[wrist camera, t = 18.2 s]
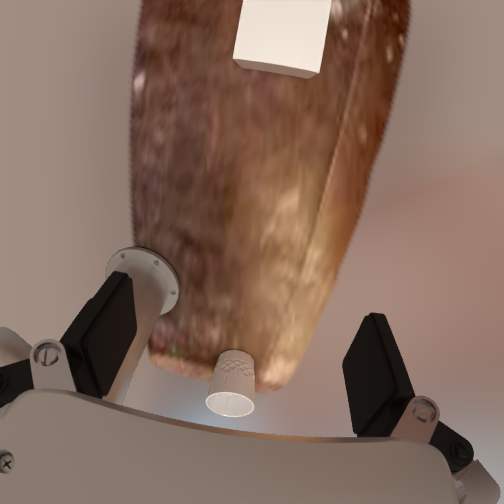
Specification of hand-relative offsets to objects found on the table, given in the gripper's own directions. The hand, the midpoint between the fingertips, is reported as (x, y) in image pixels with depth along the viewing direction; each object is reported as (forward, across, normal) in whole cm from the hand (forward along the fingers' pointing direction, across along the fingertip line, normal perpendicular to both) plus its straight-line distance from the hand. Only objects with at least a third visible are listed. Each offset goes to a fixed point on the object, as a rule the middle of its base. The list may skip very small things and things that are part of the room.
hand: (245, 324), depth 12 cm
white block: (+28, +1, -17) cm, 33 cm away
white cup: (+29, -1, +36) cm, 46 cm away
